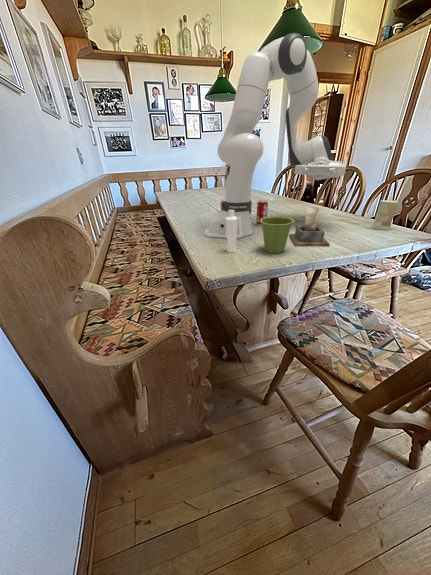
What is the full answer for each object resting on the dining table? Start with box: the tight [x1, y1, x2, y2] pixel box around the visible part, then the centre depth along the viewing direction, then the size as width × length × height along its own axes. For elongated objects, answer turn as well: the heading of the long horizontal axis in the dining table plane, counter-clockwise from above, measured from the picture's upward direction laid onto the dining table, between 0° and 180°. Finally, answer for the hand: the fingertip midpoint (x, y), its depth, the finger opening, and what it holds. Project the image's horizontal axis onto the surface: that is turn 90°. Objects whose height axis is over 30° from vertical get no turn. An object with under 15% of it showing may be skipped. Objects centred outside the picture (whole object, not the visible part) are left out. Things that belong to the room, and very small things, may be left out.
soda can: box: [255, 199, 269, 227], centre depth 122 cm, size 5×5×12 cm
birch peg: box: [303, 206, 320, 231], centre depth 98 cm, size 4×4×12 cm
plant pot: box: [260, 216, 295, 254], centre depth 90 cm, size 12×12×11 cm
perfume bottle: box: [225, 210, 238, 253], centre depth 90 cm, size 5×4×15 cm
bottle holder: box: [288, 225, 330, 247], centre depth 100 cm, size 13×13×5 cm
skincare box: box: [372, 199, 399, 231], centre depth 111 cm, size 6×4×12 cm
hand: (318, 170), depth 100 cm, fingers open, 8 cm apart
